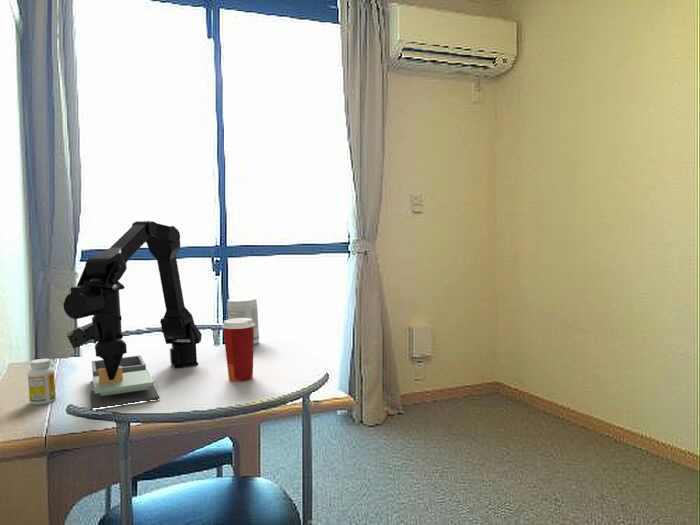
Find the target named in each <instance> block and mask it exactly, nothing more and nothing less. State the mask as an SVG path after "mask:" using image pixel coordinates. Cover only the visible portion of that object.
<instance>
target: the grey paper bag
mask: <svg viewBox="0 0 700 525" xmlns="http://www.w3.org/2000/svg"><path fill="white" fill-rule="evenodd" d="M234 318H250V319H252V320H253V323H254V324H255V326H254V339H253V346H254V345H257V344H258V343H259V342H260V334H259V333H260V331H259V315H258V302H257V298H256V297H253V296H252V297H251V296H243V297H242V296H240V297H234V298H233V297H232V298H229V299H227V320H228V319H234Z"/></svg>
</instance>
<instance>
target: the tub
mask: <svg viewBox="0 0 700 525" xmlns="http://www.w3.org/2000/svg"><path fill="white" fill-rule="evenodd" d="M119 366H122V373H127V372H135V371H143V370H147V364H146V363H145V361H144V359H143V357H142V355H132V356H124V357H122V359H121V362H120V365H119ZM91 368H92V369H91V371H92V372H91V373H92V378H93V377H95V376H99V373H98V369H99V368H106V367H105V364H104V360H103V359H97V360H91Z"/></svg>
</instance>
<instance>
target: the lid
mask: <svg viewBox="0 0 700 525" xmlns="http://www.w3.org/2000/svg"><path fill="white" fill-rule="evenodd" d="M98 373H99V376H95V377H93V376H92V384H93V390H94V392H95V394H96V393H100V395H101V396H104V395H111V394H118V393H125V392H132V391H140V390H147V389H148V386H154V387H155V382H154V380H153V377H152V376H151V374H150V372H149V370H148V369H146V370H143V371H135V372H127V373H122V366H119V367H118V370H117V373H116V376H115V378H114V380H109V378H108V374H107V371H106V368H99V369H98Z"/></svg>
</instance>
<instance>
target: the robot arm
mask: <svg viewBox="0 0 700 525" xmlns="http://www.w3.org/2000/svg"><path fill="white" fill-rule="evenodd" d="M145 243H146V245H147V249H148V251H149V253H150V254H151V255H152V257H154V259H155V260H156V261H157V262H156V263H157V266H158V272H159V280H160V284H161V288H162V294H163V300H164V305H165V313H164V315H163V317H162V318H160V322H159V323H160V325H161V326H160V327H161V333H162V334H163V338H164V341H165V344H166V345H171V348H169V359H170V362H169V363H170V364H171V365H172V366H173V367H174V368H177V369H178V368H183V367H191V366H192V367H193V366H198V365H199V362H198V359H197V357H198V356H197V355H198V354H197V344H200V343H201V341H202V332H201V331H200V330H199V328H198V327H197V325H196V323H195V321H194V317H193V314H192V313H191V312H190V311H189V310H188V309H187V308H186V305H185V301H184V296H183V289H182V283H181V279H180V271H179V265H178V261H177V255H178V253H179V250H180V248H181V233H180V231H179V229H178V228H176V226H173V225H165V224H162V223H161V224H160V223H157V222H155V221H152V220H136V221H134V222H133V223H132V224H131V227H130V228H129V229H128V230H127V231H125V233H124V234H122V236H121V237H120V238H118V240H117V241H116V242H114V243H113V245H112V246H110V247H109V248H107V249H105V250H103V251H99V252H97V253H95V254H93V255H92V256H91V257H89V258H88V259H87V260H86V261H85V266H84V268H83V270H82V273H81V274H80V278H79V279H78V281H77V282H78V283H77V284H76V286H71V287H70V293H68V294H67V295H66V297H65V299H64V302H63V310H64V312H65V314H66V315H67V316H68V317H69V318H70V319H72V320H79V319H83V318H87V317H91V316H92V317H91V319H92V320H91V322H89V323H87V324H85V325H83V326H78V327H77V328H75V329H72V330H71V331H68V332H67V333H66V338H67V339H68V341H69V343H70V345H71V348H72V349H76V348H80V346H82V345H83V344H85V343H87V342H90V341H92V342H93V344H94V350H95V357H98V358H101V360H104V364H105V367H106V371H107V374H108V378H109V380H114V378H115V376H116V373H117V370H118V367H119V365H120V362H121V359H122V357H123V356H124V354H127V353H128V351H127V348H128V347H127V343H126V342H125V340H123V335H124V334H123V332H122V331H123V330H122V321H123V320H122V315H121V302H120V300H121V298H120V290H124V289H125V286H124V284H123V283H120V279H121V278H122V277H123V275H124V274H125V272H126V271H127V269H128V268H127V263H128V261H129V260H130V259H131V258H132V257H133V256H134V255H135V253H137V251H138V250H140V248H142V246H143V245H145Z"/></svg>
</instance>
